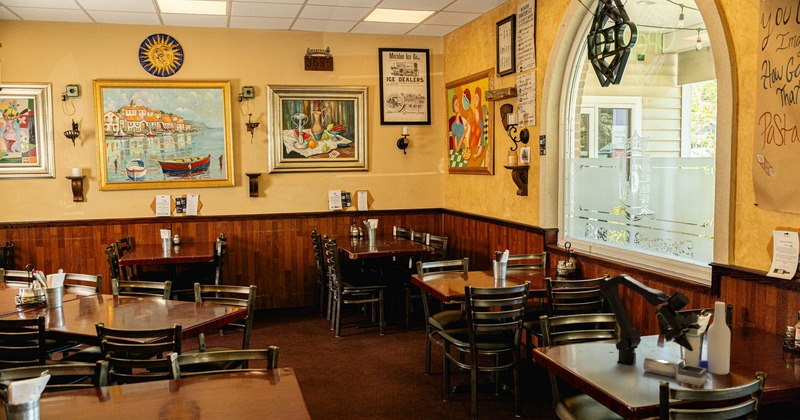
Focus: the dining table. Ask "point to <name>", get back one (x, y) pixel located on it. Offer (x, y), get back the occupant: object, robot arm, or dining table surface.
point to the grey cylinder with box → (676, 370)
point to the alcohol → (718, 342)
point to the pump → (694, 341)
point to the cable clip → (703, 364)
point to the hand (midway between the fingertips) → (695, 349)
